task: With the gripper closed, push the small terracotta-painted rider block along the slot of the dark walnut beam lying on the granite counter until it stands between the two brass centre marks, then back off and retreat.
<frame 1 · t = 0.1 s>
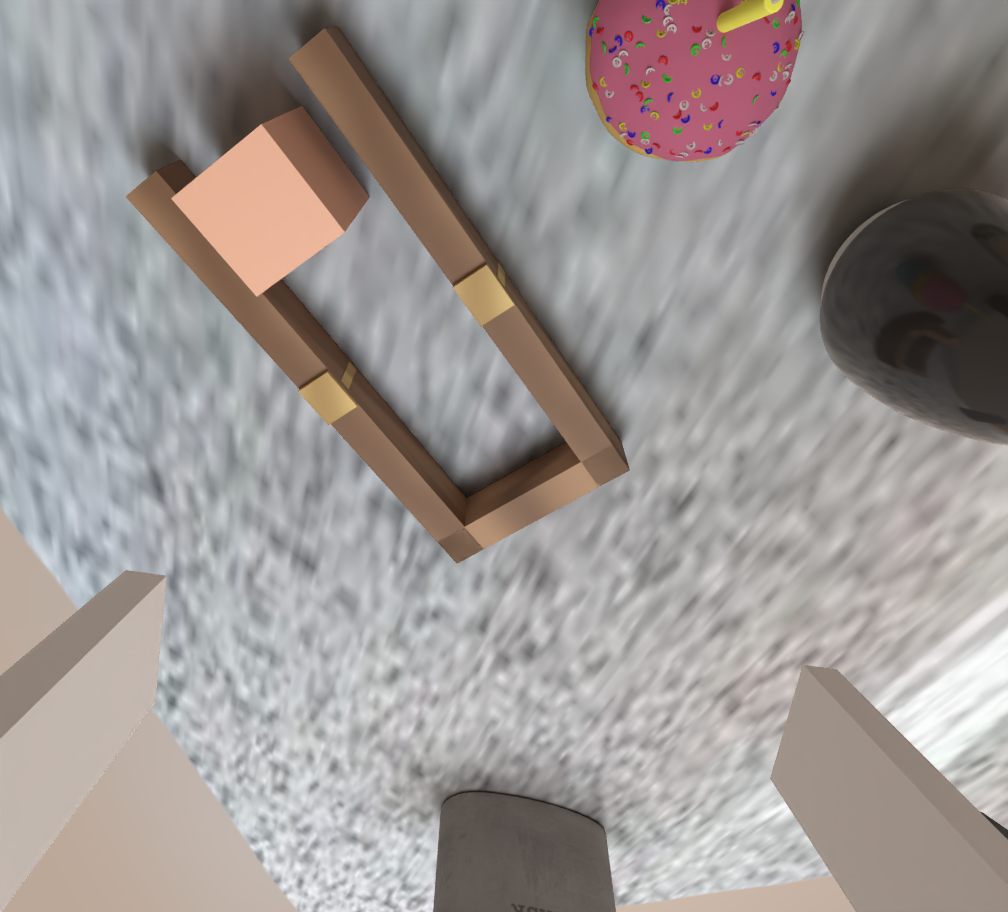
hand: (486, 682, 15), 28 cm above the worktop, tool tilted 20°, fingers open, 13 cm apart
flask: (526, 816, 63), on the worktop
cupcake: (669, 46, 34), on the worktop
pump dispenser: (892, 272, 39), on the worktop
rider: (298, 182, 36), on the worktop
slotted beam: (409, 326, 40), on the worktop
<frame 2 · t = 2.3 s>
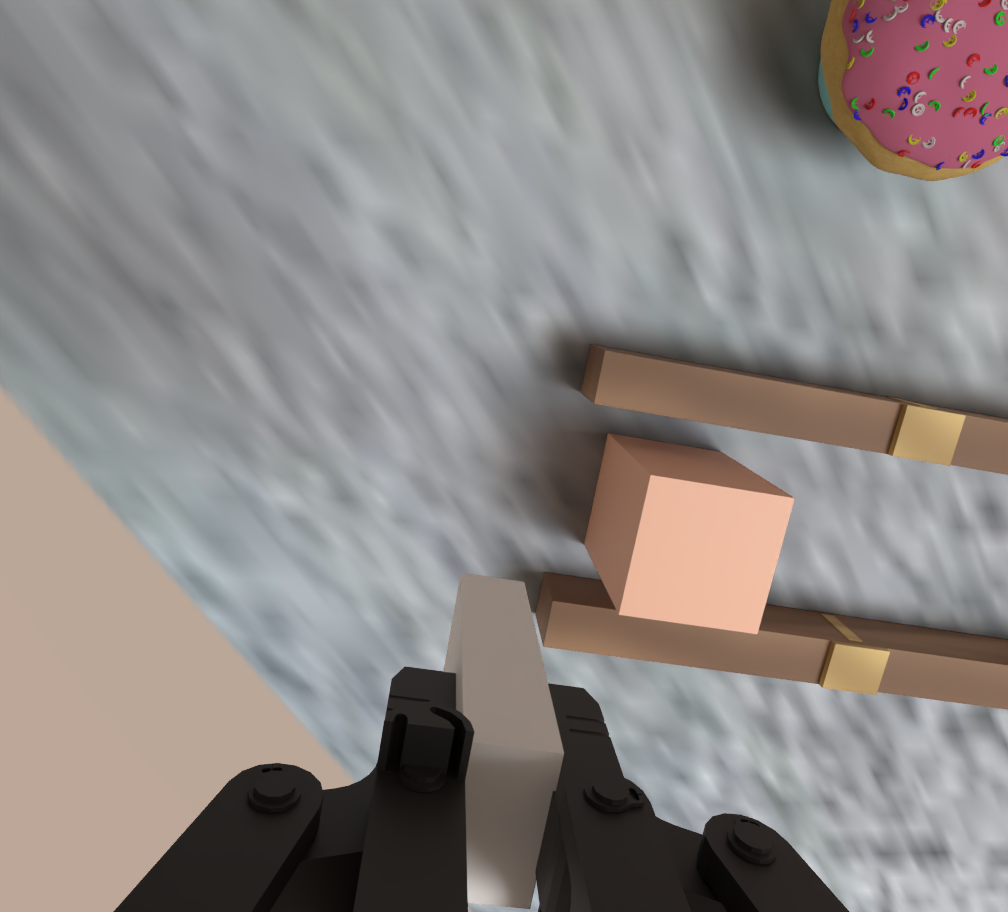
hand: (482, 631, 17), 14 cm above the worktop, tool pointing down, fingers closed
cupcake: (877, 76, 29), on the worktop
rider: (652, 498, 32), on the worktop
slotted beam: (848, 530, 33), on the worktop
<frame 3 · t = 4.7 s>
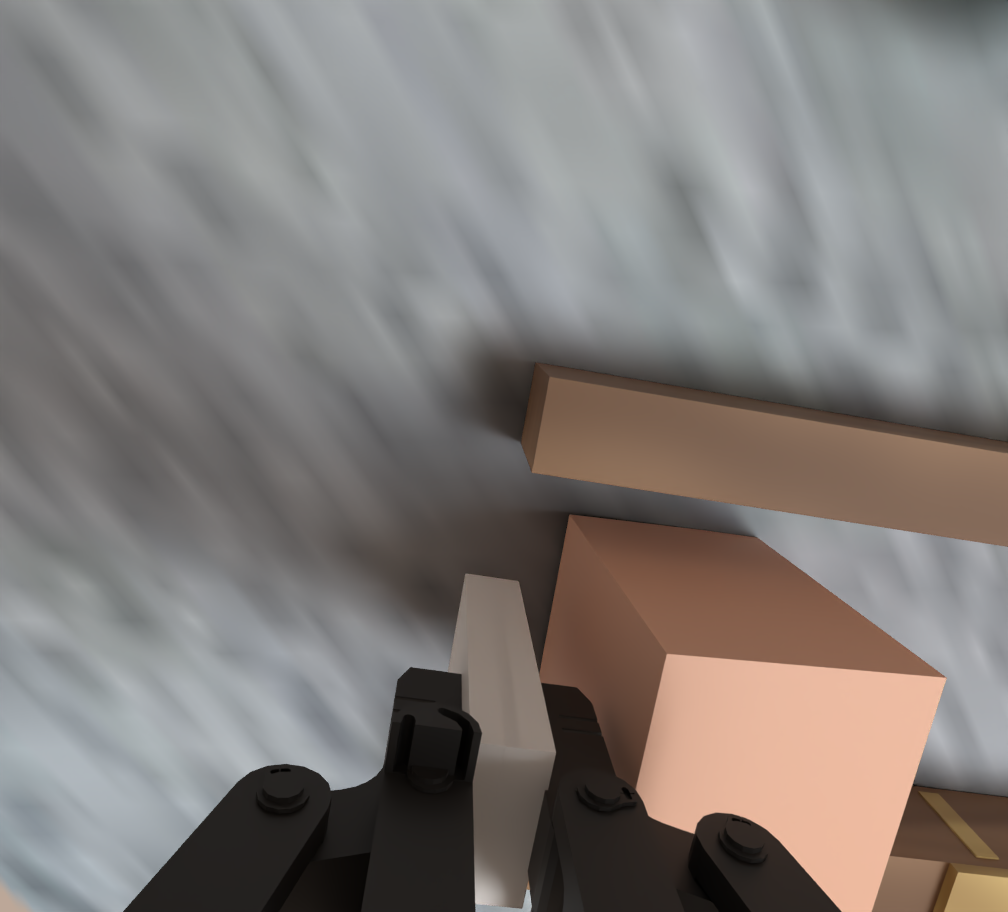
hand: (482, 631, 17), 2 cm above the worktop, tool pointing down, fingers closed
rider: (644, 615, 19), on the worktop, touching gripper
slotted beam: (963, 659, 20), on the worktop
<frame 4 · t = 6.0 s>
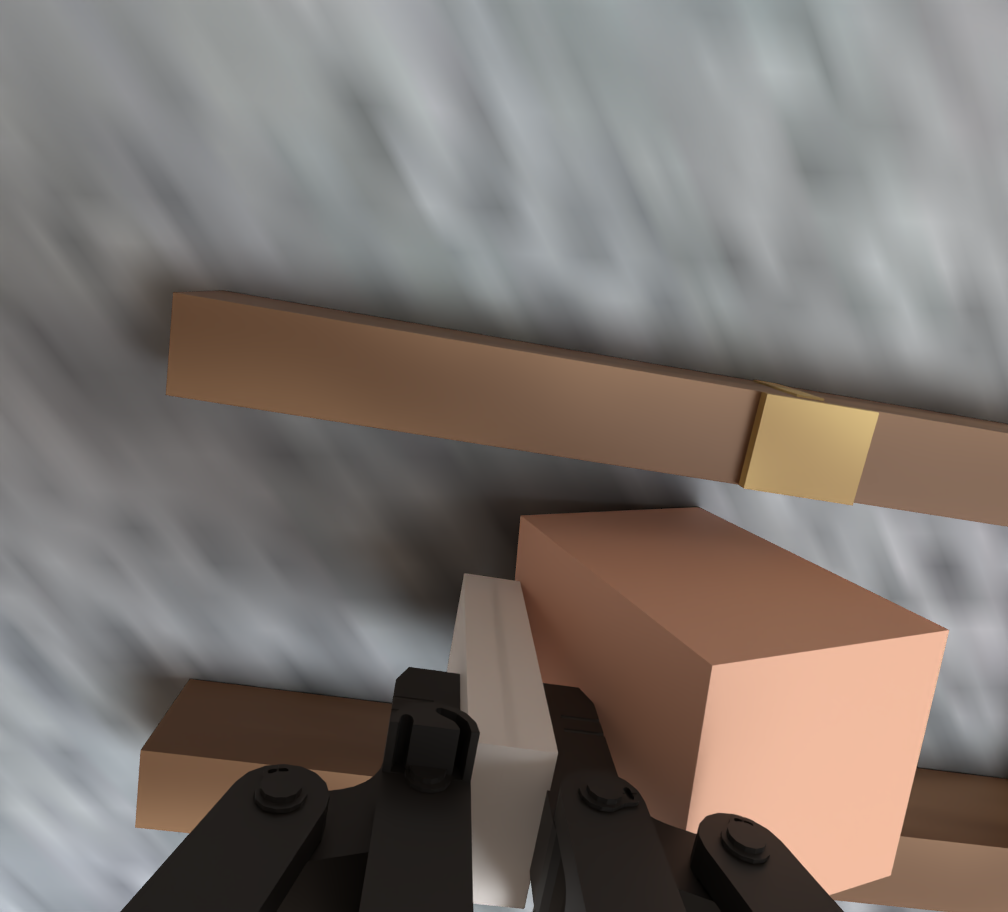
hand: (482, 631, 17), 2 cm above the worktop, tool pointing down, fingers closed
rider: (602, 605, 19), point 1 cm above the worktop, tilted 19°, touching gripper
slotted beam: (704, 605, 19), on the worktop
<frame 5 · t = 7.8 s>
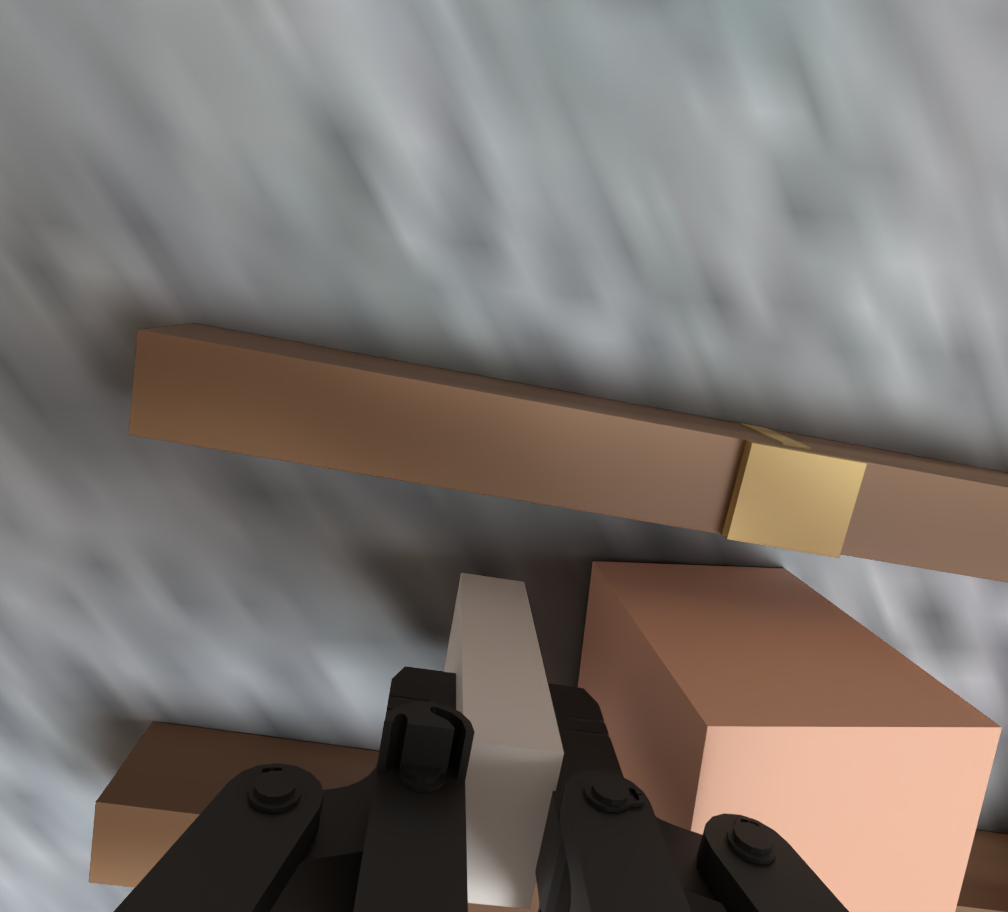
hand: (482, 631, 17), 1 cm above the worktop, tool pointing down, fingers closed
rider: (676, 657, 19), on the worktop, touching gripper
slotted beam: (687, 651, 19), on the worktop
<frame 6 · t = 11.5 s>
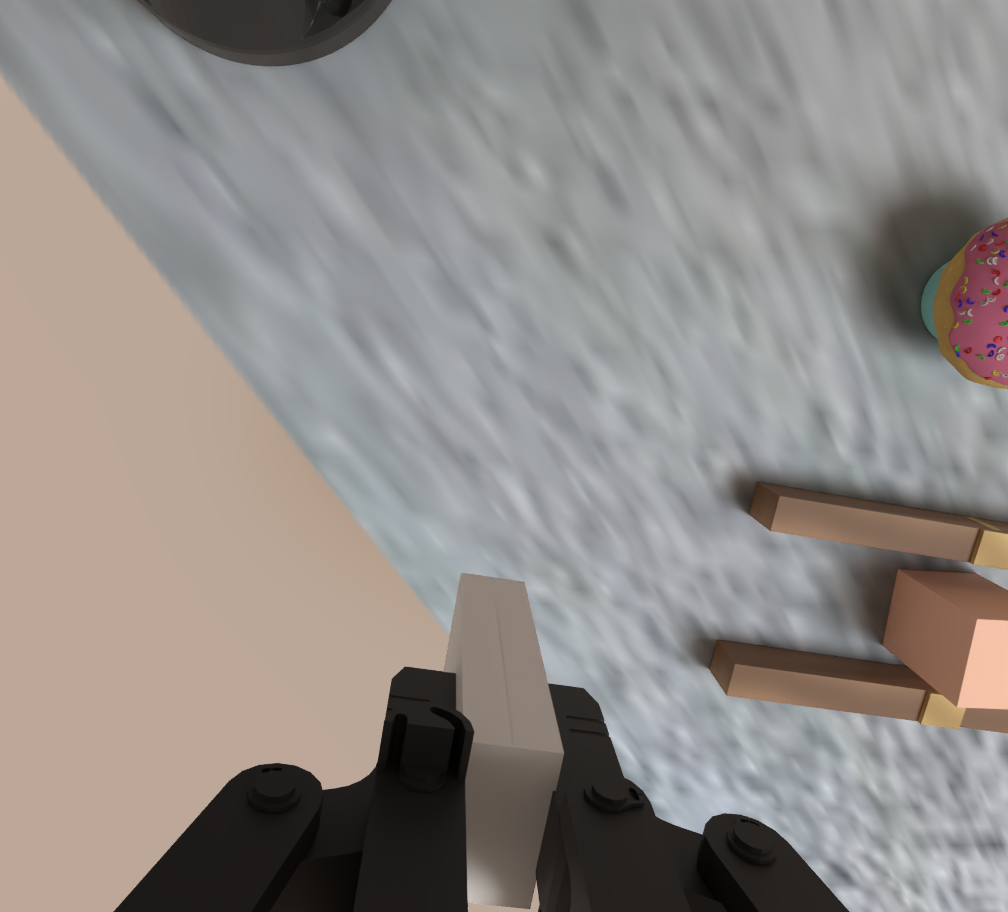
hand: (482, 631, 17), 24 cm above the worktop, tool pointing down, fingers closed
cupcake: (961, 301, 41), on the worktop
rider: (928, 609, 45), on the worktop
slotted beam: (934, 608, 45), on the worktop
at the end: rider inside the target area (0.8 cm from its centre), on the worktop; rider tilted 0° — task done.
